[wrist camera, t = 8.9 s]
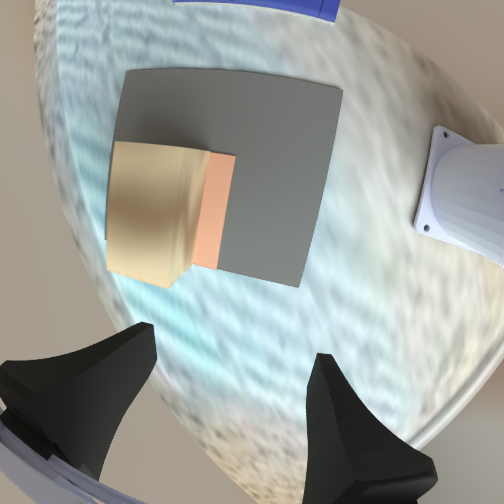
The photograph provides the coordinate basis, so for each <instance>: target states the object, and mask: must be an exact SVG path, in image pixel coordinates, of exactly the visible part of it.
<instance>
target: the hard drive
mask: <svg viewBox="0 0 504 504" xmlns="http://www.w3.org/2000/svg"><path fill="white" fill-rule="evenodd" d="M173 2H174V4H175V5H176V6H182V5H205V6H226V7H239V8H249V9H257V10H264V11H270V12H277V13H282V14H287V15H292V16H297V17H302V18H306V19H310V20H314V21H318V22H322V23H325V24H329V25H332V26H334V23H335V19H336V15H337V11H338V7H339V4H340V0H173Z"/></svg>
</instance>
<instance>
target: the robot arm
mask: <svg viewBox="0 0 504 504" xmlns="http://www.w3.org/2000/svg"><path fill="white" fill-rule="evenodd" d="M444 132H445V133H446V136H447V137H446V138H445V137H444V134H443V133H444ZM426 224H427V229H426V230H424V226H425V225H426ZM414 229H415V231H417V232H418V233H421V234H424V235H427V236H430V237H433V238H436V239H439V240H442V241H445V242H448V243H451V244H454V245H457V246H460V247H463V248H466V249H468V250H471V251H474V252H477V253H479V254H482V255H483V256H485V257H487V258H488V259H490V260H491V261H493V262H495V263H496V264H498V265H499V266H501V267H502V268H504V144H479V145H477V144H475V143H473V142H472V141H470V140H468V139H466V138H464V137H462V136H460V135H459V134H457V133H455V132H453V131H451V130H449V129H447V128H445V127H443V126H440V125H439V126H435V127H434V129H433V135H432V142H431V148H430V154H429V160H428V166H427V171H426V176H425V180H424V185H423V189H422V194H421V198H420V202H419V206H418V210H417V214H416V217H415V221H414ZM156 361H157V352H156V344H155V335H154V326H153V324H149V323H145V322H140V323H137V324H135V325H133V326H131V327H129V328H127V329H125V330H123V331H121V332H119V333H117V334H115V335H113V336H111V337H109V338H107V339H105V340H102V341H100V342H98V343H96V344H93V345H91V346H89V347H86V348H83V349H81V350H78V351H75V352H71V353H68V354H64V355H60V356H56V357H51V358H45V359H38V360H26V361H9V360H7V361H5V362H4V363H3V364H2V365H1V366H0V397H1V399H2V401H3V402H4V404H5V405H6V407H7V409H6V410H5V411H3V410H2V408H1V407H0V471H1V472H2V473H4V475H5V476H6V477H8V479H10V481H12V482H13V483H14V484H15V485H16V486H17V487H18V488H19V489H20V490H21V491H23V492H24V493H25V494H26V495H27V496H28V497H29V498H31V499H32V500H33V501H34V502H35V503H37V504H97V503H96V502H95V501H94V500H93V499H92V498H91V497H90V496H88V495H87V494H89V495H91V496H93V497H94V498H96V499H98V500H100V501H102V502H104V503H106V504H147V503H145V502H142V501H139V500H137V499H135V498H132V497H130V496H128V495H125V494H123V493H121V492H118V491H116V490H114V489H112V488H110V487H108V486H106V485H104V484H102V483H100V482H98V481H99V477H100V474H101V471H102V467H103V464H104V460H105V458H106V455H107V452H108V449H109V447H110V444H111V442H112V439H113V437H114V435H115V433H116V430H117V428H118V426H119V424H120V422H121V420H122V418H123V416H124V414H125V412H126V411H127V409H128V408H129V406H130V405H131V403H132V402H133V400H134V398H135V397H136V396H137V394H138V392H139V391H140V390H141V388H142V387H143V385H144V383H145V382H146V381H147V379H148V377H149V376H150V374H151V372H152V370H153V368H154V365H155V363H156ZM306 418H307V437H308V461H307V472H306V481H305V489H304V496H303V502H302V504H418V503H417V499H418V498H420V497H421V496H422V495H424V494H425V493H426V492H428V491H429V490H430V489H431V488H432V487H433V486H434V485H435V484H436V482H437V481H438V477H437V473H436V469H435V465H434V463H433V460H432V458H430V457H428V456H427V455H425V454H423V453H421V452H419V451H418V450H416V449H414V448H413V447H411V446H410V445H408V444H407V443H405V442H404V441H402V440H401V439H400V438H398V437H397V436H396V435H394V434H393V433H392V432H391V431H390V430H389V429H387V428H386V427H385V426H384V425H383V424H382V423H381V422H380V421H379V420H378V419H377V418H376V417H375V416H374V415H373V414H372V413H371V412H370V411H369V410H368V409H367V407H366V406H365V405H364V404H363V402H362V401H361V400H360V398H359V397H358V396H357V394H356V393H355V392H354V390H353V389H352V387H351V386H350V384H349V383H348V381H347V380H346V378H345V376H344V375H343V373H342V371H341V370H340V368H339V366H338V365H337V363H336V361H335V359H334V358H333V356H332V355H331V354H323V353H317V355H316V359H315V362H314V366H313V369H312V373H311V376H310V379H309V382H308V385H307V396H306ZM76 487H77V488H76ZM79 489H80V490H79ZM81 490H82V491H83V492H82V491H81ZM84 492H85V493H87V494H85V493H84Z"/></svg>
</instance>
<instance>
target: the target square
mask: <svg viewBox="0 0 504 504" xmlns="http://www.w3.org/2000/svg"><path fill="white" fill-rule="evenodd" d="M235 159H236V156H231V155H225V154H218V153H212V152H210V156H209V162H208V167H207V173H206V179H205V185H204V191H203V197H202V204H201V210H200V217H199V224H198V231H197V238H196V245H195V253H194V261H193V264H195V265H199V266H203V267H207V268H211V269H215V270H216V269H217V265H218V258H219V252H220V246H221V239H222V233H223V227H224V221H225V215H226V209H227V203H228V198H229V192H230V186H231V181H232V175H233V170H234V164H235Z"/></svg>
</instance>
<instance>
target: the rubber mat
mask: <svg viewBox="0 0 504 504" xmlns="http://www.w3.org/2000/svg"><path fill="white" fill-rule="evenodd" d="M342 94H343V90H340V89H336V88H333V87H329V86H324V85H320V84H316V83H311V82H307V81H302V80H296V79H291V78H285V77H280V76H273V75H266V74H259V73H251V72H241V71H230V70H216V69H183V68H179V69H147V70H133V71H127V74H126V78H125V82H124V86H123V90H122V94H121V99H120V104H119V109H118V114H117V119H116V124H115V130H114V136H113V143H112V150H111V157H110V166H109V175H108V185H107V198H106V216H105V240H107V217H108V201H109V188H110V178H111V169H112V160H113V153H114V146H115V141H119V142H134V143H146V144H157V145H167V146H176V147H184V148H191V149H198V150H205V151H210V152H212V153H218V154H225V155H231V156H236V159H235V164H234V170H233V175H232V181H231V186H230V192H229V198H228V203H227V209H226V215H225V221H224V227H223V233H222V239H221V246H220V252H219V258H218V265H217V269H220V270H224V271H228V272H232V273H236V274H241V275H245V276H249V277H253V278H258V279H262V280H266V281H271V282H275V283H280V284H284V285H288V286H293V287H297V288H299V285H300V282H301V278H302V275H303V271H304V267H305V264H306V260H307V256H308V252H309V248H310V245H311V241H312V237H313V233H314V229H315V225H316V221H317V217H318V212H319V208H320V204H321V200H322V195H323V191H324V187H325V182H326V177H327V173H328V168H329V163H330V159H331V154H332V149H333V144H334V139H335V134H336V128H337V123H338V117H339V112H340V106H341V100H342Z"/></svg>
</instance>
